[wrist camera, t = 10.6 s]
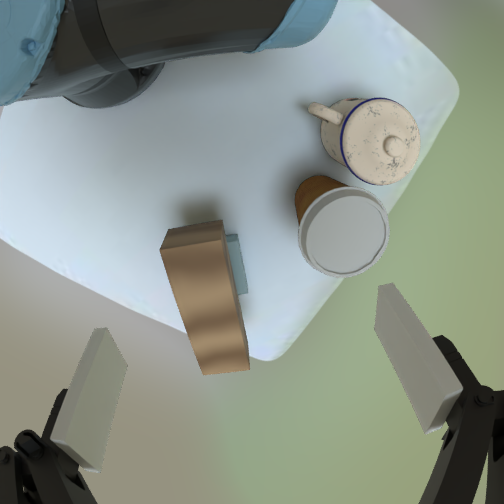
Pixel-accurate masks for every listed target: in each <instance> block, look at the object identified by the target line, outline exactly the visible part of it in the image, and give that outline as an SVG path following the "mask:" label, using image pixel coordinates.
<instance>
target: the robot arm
mask: <svg viewBox="0 0 504 504" xmlns="http://www.w3.org/2000/svg"><path fill="white" fill-rule="evenodd" d="M337 2H338V0H0V106H3V105H4V106H6V105H9V104H12V103H14V102H16V101H23V100H30V99H38V98H47V97H58V96H63V97H64V98H66V99H67V100H68V101H70V102H72V103H74V104H76V105H78V106H82V107H86V108H106V107H113V106H117V105H120V104H123V103H126V102H128V101H130V100H132V99H133V98H135V97H137V96H138V95H140V94H141V93H142V92H143V91H145V90H146V89H147V88H148V87H149V86H150V85H151V84H152V83H153V81H154V80H155V79H156V78H157V76H158V75H159V73H160V71H161V70H162V68H163V66H164V64H165V62H167V61H172V60H178V59H184V58H191V57H197V56H205V55H213V54H222V53H232V52H243V53H255V52H260V51H262V50H264V49H275V48H290V47H297V46H299V45H302V44H305V43H307V42H309V41H311V40H312V39H314V38H315V37H316V36H317V35H318V34H319V33H320V32H321V31H322V30H323V28H324V27H325V26H326V24H327V23H328V21H329V19H330V18H331V16H332V13H333V11H334V9H335V7H336V4H337ZM374 330H375V332H376V334H377V336H378V338H379V339H380V341H381V343H382V345H383V347H384V349H385V351H386V353H387V355H388V357H389V359H390V361H391V363H392V365H393V366H394V369H395V371H396V373H397V375H398V377H399V379H400V381H401V383H402V385H403V388H404V390H405V392H406V394H407V395H408V398H409V400H410V402H411V404H412V407H413V409H414V411H415V413H416V415H417V418H418V420H419V422H420V424H421V426H422V429H423V431H424V433H425V434H428V433H430V432H433V431H435V430H438V429H440V428H442V426H443V424H444V422H445V421H446V422H447V424H448V426H449V428H448V430H447V431H446V433H445V434H444V436H443V438H442V440H444V442H443V445H442V448H441V451H440V454H439V456H438V459H437V461H436V464H435V467H434V469H433V472H432V474H431V477H430V479H429V482H428V484H427V486H426V489H425V491H424V493H423V495H422V498H421V500H420V502H419V504H472V502H473V499H474V497H475V494H476V490H477V488H478V485H479V481H480V478H481V475H482V471H483V467H484V464H485V460H486V456H487V452H488V475H487V489H486V501H485V504H504V390H501V391H493V390H492V389H491V388H490V387H487V386H483V385H481V384H480V383H479V382H478V380H477V379H476V377H475V376H474V374H473V373H472V371H471V370H470V368H469V367H468V365H467V364H466V362H465V361H464V359H462V356H461V355H460V353H459V352H457V349H456V347H455V346H454V344H453V343H452V342H451V341H450V340H449V339H447V338H446V337H444V336H443V335H440V336H437V337H434V338H431V336H430V335H429V333H428V332H427V330H426V329H425V327H424V326H423V324H422V323H421V321H420V320H419V319H418V317H417V316H416V314H415V313H414V311H413V310H412V308H411V307H410V306H409V304H408V303H407V301H406V300H405V299H404V297H403V296H402V295H401V293H400V292H399V290H398V289H397V288H396V286H395V285H394V284H393V283H390V284H385V285H380V286H378V300H377V310H376V318H375V327H374ZM127 367H128V365H127V363H126V361H125V360H124V358H123V356H122V354H121V353H120V351H119V349H118V347H117V345H116V343H115V342H114V340H113V338H112V336H111V334H110V332H109V330H108V328H97V329H94V331H93V333H92V335H91V337H90V340H89V342H88V344H87V346H86V348H85V351H84V353H83V355H82V358H81V360H80V362H79V364H78V367H77V369H76V371H75V374H74V376H73V379H72V381H71V384H70V386H69V388H68V389H63V390H62V391H61V392H60V394H59V395H58V396H57V398H56V400H55V403H54V405H53V406H54V407H53V408H52V410H51V415H49V418H48V421H47V423H46V426H45V429H44V431H43V434H42V437H41V438H40V437H39V436H38V435H37V434H36V433H35V432H34V431H32V430H24V431H22V432H21V433H19V434H18V436H17V437H16V439H15V442H14V448H15V449H16V450H17V451H18V452H15V451H14V450H13V449H12V448H10V447H8V446H3V447H1V448H0V504H97V502H96V500H95V498H94V497H93V495H92V493H91V491H90V490H89V488H88V486H87V484H86V482H85V480H84V478H83V477H82V475H81V473H80V472H79V471H78V468H79V465H80V466H81V467H82V468H84V469H85V470H86V471H91V472H98V473H101V469H102V464H103V459H104V455H105V451H106V446H107V441H108V438H109V434H110V429H111V425H112V421H113V418H114V413H115V409H116V406H117V402H118V399H119V395H120V391H121V388H122V384H123V381H124V377H125V374H126V370H127ZM23 487H24V491H23Z"/></svg>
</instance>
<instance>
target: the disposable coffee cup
mask: <svg viewBox="0 0 504 504" xmlns="http://www.w3.org/2000/svg"><path fill="white" fill-rule="evenodd" d="M295 206H296V211H297V217H298V222H299V231H298V242H299V247H300V250H301V253H302V255H303V257H304V258H305V260H306V262H307V263H309V264H310V265H311V266H312V267H313V268H314V269H316V270H318V271H320V272H322V273H324V274H326V275H329V276H333V277H336V278H343V277H351V276H355V275H358V274H360V273H363V272H365V271H366V270H367V269H369V268H370V267H371V266H373V265H374V264H375V263H376V262H377V261H378V260H379V259H380V257H381V256H382V254H383V253H384V251H385V249H386V246H387V244H388V240H389V231H390V228H389V223H388V216H387V212H386V209H385V208H384V206H383V204H382V202H381V201H380V200H379V199H378V198H377V197H376V196H375V195H374V194H372V193H371V192H369V191H367V190H365V189H362V188H358V187H351V186H348V185H345V184H343V183H341V182H338V181H336V180H334V179H331V178H330V177H327V176H322V175H320V176H313V177H310V178H308V179H306V180H305V181H304V182H303V183H302V184H301V185H300V186H299V188H298V189H297V192H296V195H295Z"/></svg>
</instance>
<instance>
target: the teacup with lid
mask: <svg viewBox="0 0 504 504" xmlns="http://www.w3.org/2000/svg"><path fill="white" fill-rule="evenodd" d="M308 111H309V113H310V114H312V115H314V116H315V117H317V118H319V119H321V120H322V124H321V139H322V142H323V145H324V147H325V149H326V151H327V152H328V153H329V155H330V156H331V157H332V158H334V159H335V160H336V161H338V162H339V163H341V164H342V165H344V166H345V167H347V168H348V169H349V170H350V171H351V172H352V173H353V174H354V175H355V176H356V177H357V178H359V179H360V180H362V181H364V182H366V183H369V184H372V185H388V184H392V183H395V182H397V181H399V180H401V179H402V178H403V177H405V176H406V175H407V174H408V173H409V172H410V171H411V169H412V168H413V167H414V165H415V163H416V161H417V158H418V155H419V151H420V134H419V130H418V127H417V124H416V122H415V120H414V118H413V117H412V115H411V114H410V113H409V112H408V111H407V109H405V108H404V107H403V106H402V105H401V104H399V103H397V102H395V101H393V100H390V99H387V98H372V99H359V98H348V99H343V100H341V101H338V102H337V103H335V104H334V105H332V106H331V107H330V108H329V107H326V106H324V105H322V104H319V103H315V102H313V103H311V104H310V105H309V108H308Z"/></svg>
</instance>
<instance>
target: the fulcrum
mask: <svg viewBox="0 0 504 504" xmlns="http://www.w3.org/2000/svg"><path fill="white" fill-rule="evenodd" d="M226 241H227V246H228V251H229V256H230V261H231V265H232V270H233V275H234V280H235V285H236V289H237V294H238V295H240V294H246V293H248V288H247V281H246V276H245V271H244V266H243V261H242V256H241V251H240V245H239V240H238V235H237V234H235V235H229V236H226Z"/></svg>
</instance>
